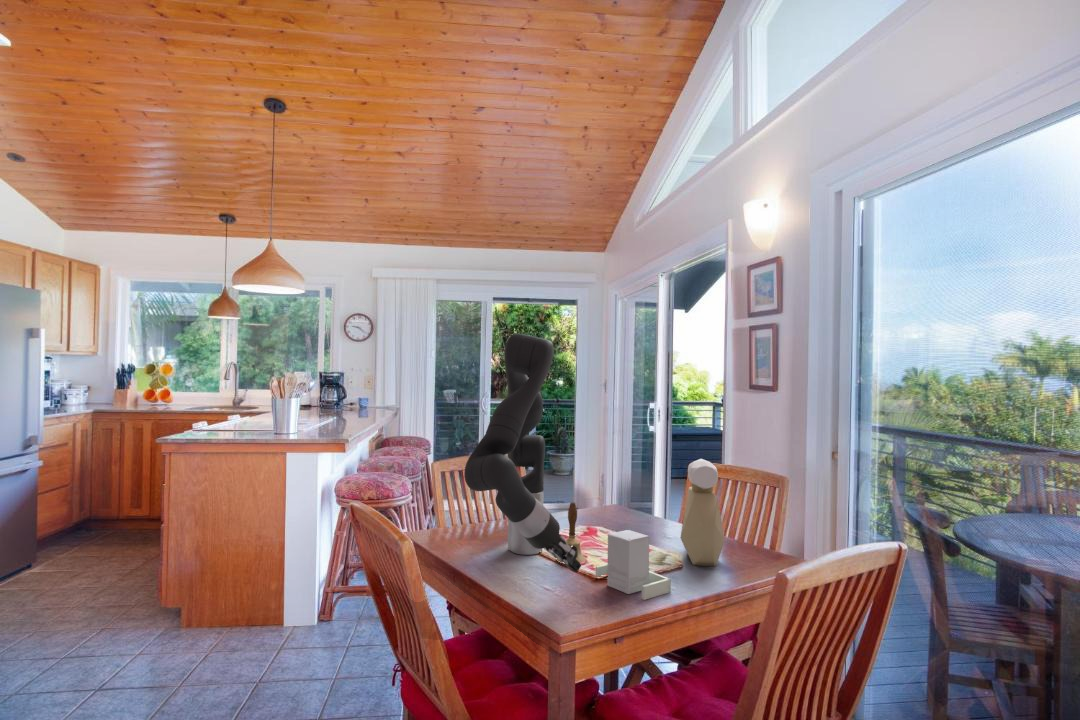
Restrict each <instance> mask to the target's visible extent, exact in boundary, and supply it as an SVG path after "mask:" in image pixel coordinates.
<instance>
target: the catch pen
mask: <svg viewBox="0 0 1080 720" xmlns="http://www.w3.org/2000/svg"><path fill="white" fill-rule="evenodd" d="M606 574H608V563H605V564H600V565H596V566H595V577H596V576H597V577H599V576H601V575H606ZM671 586H672V579H671V578H670V577H669V578H668V577H666V576H664V575H661V574H659V573H656V572H653V571H651V570H649V584H646V585H643V586H642V591H641V600H643V601H645V600H649V599H652V598H655V597H658V596H662V595H666V594H668V593H671V592H672V587H671Z"/></svg>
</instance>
